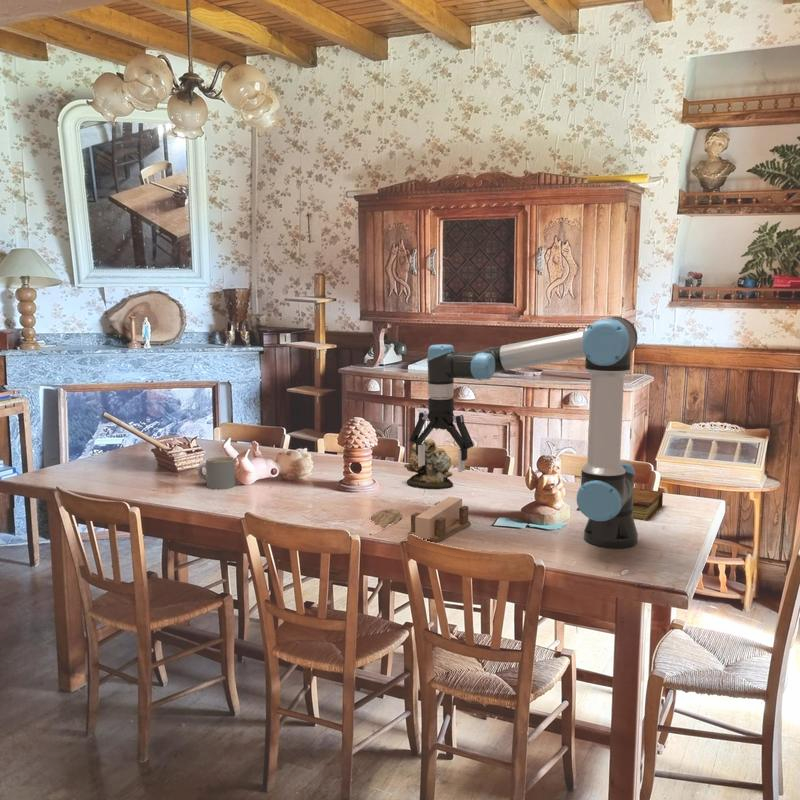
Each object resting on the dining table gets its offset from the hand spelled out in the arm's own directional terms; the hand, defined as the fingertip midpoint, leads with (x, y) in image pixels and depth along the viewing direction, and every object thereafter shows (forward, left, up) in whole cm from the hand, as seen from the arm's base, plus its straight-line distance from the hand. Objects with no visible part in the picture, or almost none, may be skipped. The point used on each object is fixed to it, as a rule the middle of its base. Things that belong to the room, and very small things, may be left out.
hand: (441, 468), depth 248 cm
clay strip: (0, 0, -18) cm, 18 cm away
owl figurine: (+30, -44, -20) cm, 57 cm away
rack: (0, 0, -19) cm, 19 cm away
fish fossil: (+20, +3, -20) cm, 29 cm away
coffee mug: (+94, -2, -19) cm, 96 cm away
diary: (-38, -52, -20) cm, 67 cm away
